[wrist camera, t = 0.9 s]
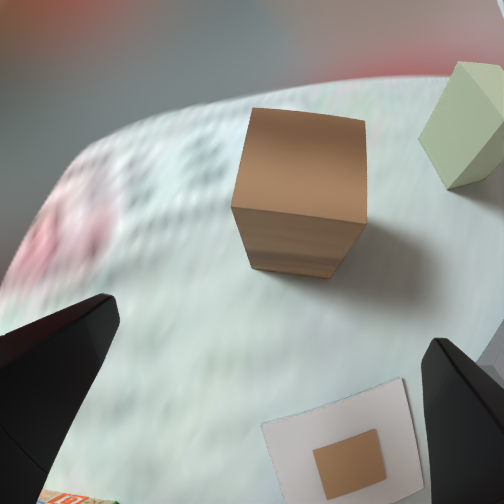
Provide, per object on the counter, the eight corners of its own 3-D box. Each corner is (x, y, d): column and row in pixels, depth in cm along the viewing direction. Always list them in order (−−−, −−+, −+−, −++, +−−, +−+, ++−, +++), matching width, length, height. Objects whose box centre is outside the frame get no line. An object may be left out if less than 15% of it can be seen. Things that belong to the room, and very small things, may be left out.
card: (420, 485, 16) (425, 489, 15) (296, 530, 16) (296, 536, 15) (398, 376, 19) (402, 377, 18) (260, 423, 19) (259, 426, 18)
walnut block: (329, 278, 21) (366, 223, 12) (251, 268, 22) (230, 206, 12) (335, 207, 23) (364, 121, 13) (263, 198, 24) (252, 107, 14)
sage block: (484, 179, 23) (539, 117, 13) (446, 190, 23) (504, 119, 13) (457, 133, 24) (499, 65, 15) (417, 139, 24) (458, 61, 15)
